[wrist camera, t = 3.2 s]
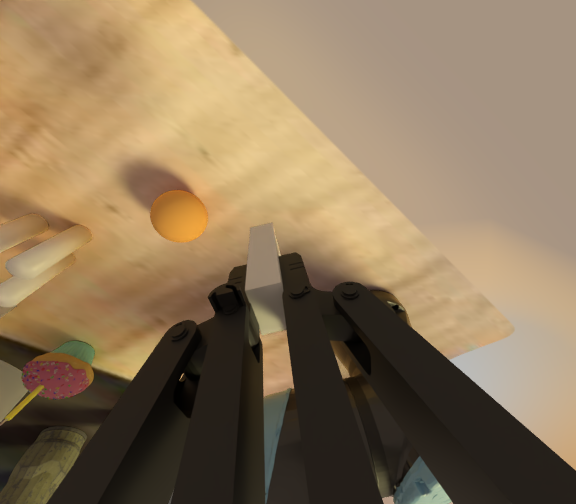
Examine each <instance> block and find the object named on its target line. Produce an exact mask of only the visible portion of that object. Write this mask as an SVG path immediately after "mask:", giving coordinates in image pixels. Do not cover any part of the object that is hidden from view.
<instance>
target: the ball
mask: <svg viewBox="0 0 576 504" xmlns="http://www.w3.org/2000/svg"><path fill="white" fill-rule="evenodd" d="M150 217H151V222H152V224H153V227H154V228H155V230H156V231H157V232H158V233H159V234H160V235H161V236H162V237H164V238H166V239H168V240H170V241H173V242H188V241H192V240H194V239H196V238H197V237H199V236H200V235H201V234H202V233H203V231H204V230H205V228H206V225H207V221H208V215H207V211H206V208H205V206H204V204H203V203H202V201H201V200H200V199H199V198H198V197H196V196H195V195H193V194H191V193H189V192H186V191H182V190H173V191H168V192H165V193H163V194H162V195H160V196H159V197H158V198H157V199H156V200H155V201H154V203H153V205H152V207H151V212H150Z"/></svg>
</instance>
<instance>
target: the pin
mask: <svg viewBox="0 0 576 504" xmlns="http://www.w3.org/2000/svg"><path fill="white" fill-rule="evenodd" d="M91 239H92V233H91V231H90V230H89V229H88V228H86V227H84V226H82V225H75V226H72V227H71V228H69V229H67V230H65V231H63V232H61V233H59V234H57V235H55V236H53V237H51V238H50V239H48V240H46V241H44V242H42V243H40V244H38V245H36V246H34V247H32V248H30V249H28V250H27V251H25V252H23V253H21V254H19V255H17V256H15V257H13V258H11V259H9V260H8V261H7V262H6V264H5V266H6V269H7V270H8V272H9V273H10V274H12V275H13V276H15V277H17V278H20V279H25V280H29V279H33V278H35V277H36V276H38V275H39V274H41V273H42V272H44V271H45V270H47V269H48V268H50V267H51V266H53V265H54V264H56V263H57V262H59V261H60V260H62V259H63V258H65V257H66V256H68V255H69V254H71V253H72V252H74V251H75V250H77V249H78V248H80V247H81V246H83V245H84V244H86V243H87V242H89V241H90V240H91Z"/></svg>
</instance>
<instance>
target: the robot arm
mask: <svg viewBox="0 0 576 504" xmlns="http://www.w3.org/2000/svg"><path fill="white" fill-rule="evenodd" d="M228 280H229V281H228V283H226V284H223V285H220V286H219V287H217V288H215V289H214V290H213V291H212V292H211V293H210V294H209V296H208V299H209V301H210V303H211V305H212V307H213V309H214V311H215V316H214V317H213V318H211V319H209V320H208V321H205V322H203V323H201V324H199V325H197V324H196V323H195V322H194V321H191V320H186V321H182V322H180V323H177V324H175V325H174V326H173V327H171V328H170V329H169V330H168V331H167V332H166V333H165V335H164V336H163V337H162V339H161V340H160V342H159V343H158V345H157V346H156V347H155V349H154V350H153V352H152V353H151V355H150V356H149V357H148V359H147V360H146V362H145V363H144V365H143V366H142V367H141V369H140V370H139V372H138V373H137V375H136V376H135V377H134V379H133V380H132V382H131V383H130V385H129V386H128V387H127V389H126V390H125V392H124V393H123V395H122V396H121V397H120V399H119V400H118V402H117V403H116V405H115V406H114V407H113V409H112V410H111V412H110V413H109V415H108V416H107V417H106V419H105V420H104V422H103V423H102V425H101V426H100V427H99V429H98V430H97V432H96V433H95V435H94V436H93V437H92V439H91V440H90V442H89V443H88V445H87V446H86V447H85V449H84V450H83V452H82V453H81V455H80V456H79V457H78V459H77V460H76V462H75V463H74V465H73V466H72V467H71V469H70V470H69V472H68V473H67V475H66V476H65V477H64V479H63V480H62V482H61V483H60V485H59V486H58V487H57V489H56V490H55V492H54V493H53V495H52V496H51V497H50V499H49V500H48V502H47V503H46V504H168V503H169V500H170V497H171V495H172V492H173V490H174V493H173V496H172V501H171V504H384V503H383V500H382V498H384V497H389V496H392V497H394V499H393V501H394V503H395V504H449V503H451V502H453V504H576V471H575V470H574V469H573V468H572V467H571V466H570V465H568V464H567V463H566V462H565V461H564V460H563V459H562V458H560V457H559V456H558V455H557V454H556V453H555V452H554V451H552V450H551V449H550V448H549V447H548V446H547V445H546V444H544V443H543V442H542V441H541V440H540V439H539V438H538V437H536V436H535V435H534V434H533V433H532V432H531V431H529V430H528V429H527V428H526V427H525V426H524V425H523V424H522V423H520V422H519V421H518V420H517V419H516V418H515V417H514V416H512V415H511V414H510V413H509V412H508V411H507V410H505V409H504V408H503V407H502V406H501V405H500V404H499V403H497V402H496V401H495V400H494V399H493V398H492V397H491V396H489V395H488V394H487V393H486V392H485V391H484V390H483V389H481V388H480V387H479V386H478V385H477V384H476V383H475V382H473V381H472V380H471V379H470V378H469V377H468V376H467V375H465V374H464V373H463V372H462V371H461V370H460V369H458V368H457V367H456V366H455V365H454V364H453V363H451V362H450V361H449V360H448V359H447V358H446V357H445V356H444V355H442V354H441V353H440V352H439V351H438V350H437V349H436V348H434V347H433V346H432V345H431V344H430V343H429V342H428V341H426V340H425V339H424V338H423V337H422V336H421V335H420V334H418V333H417V332H416V331H415V330H414V329H413V328H412V327H411V324H410V321H409V317H408V314H407V312H406V310H405V308H404V307H403V306H402V304H401V303H400V302H399V301H398V299H397V298H396V297H394V296H393V295H391V294H389V293H387V292H384V291H378V290H370V291H369V290H368V289H367V288H366V287H365V286H363V285H361V284H360V283H356V282H344V283H341V284H339V285H337V286H336V287H335V288H334V290H333V292H324V291H319V290H316V289H314V288H313V287H312V286H311V284H310V282H309V279H308V276H307V273H306V270H305V267H304V264H303V261H302V258H301V256H300V255H299V254H297V253H296V252H295V253H291V254H287V255H282V256H281V254H280V250H279V246H278V242H277V238H276V234H275V230H274V227H273V223H268V224H264V225H259V226H255V227H251V228H250V237H249V248H248V260H247V265H243V266H238V267H234V269H233V270H232V271H231V272H230V274H229V279H228ZM259 329H260V331H261V334H262V335H266V334H270V333H274V332H278V331H283V330H287V337H288V345H289V352H290V360H291V367H292V375H293V382H294V389H292V388H289V389H287V390H286V391H282V392H278V393H274V394H271V395H267V396H265V397H264V398H263V349H262V342H261V339H260V337H259ZM334 353H335V354H334ZM335 355H336V356H337V357H338V359H339V360H340V361H341V362H342V364H343V365H344V366H345V368H346V369H347V370H348V372H349V375H350V377H349V378H345V379H342V376H341V372H340V369H339V366H338V363H337V360H336V357H335ZM183 373H184V374H183ZM182 374H183V376H182ZM181 376H182V378H181ZM180 378H181V379H180ZM174 487H175V488H174Z"/></svg>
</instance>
